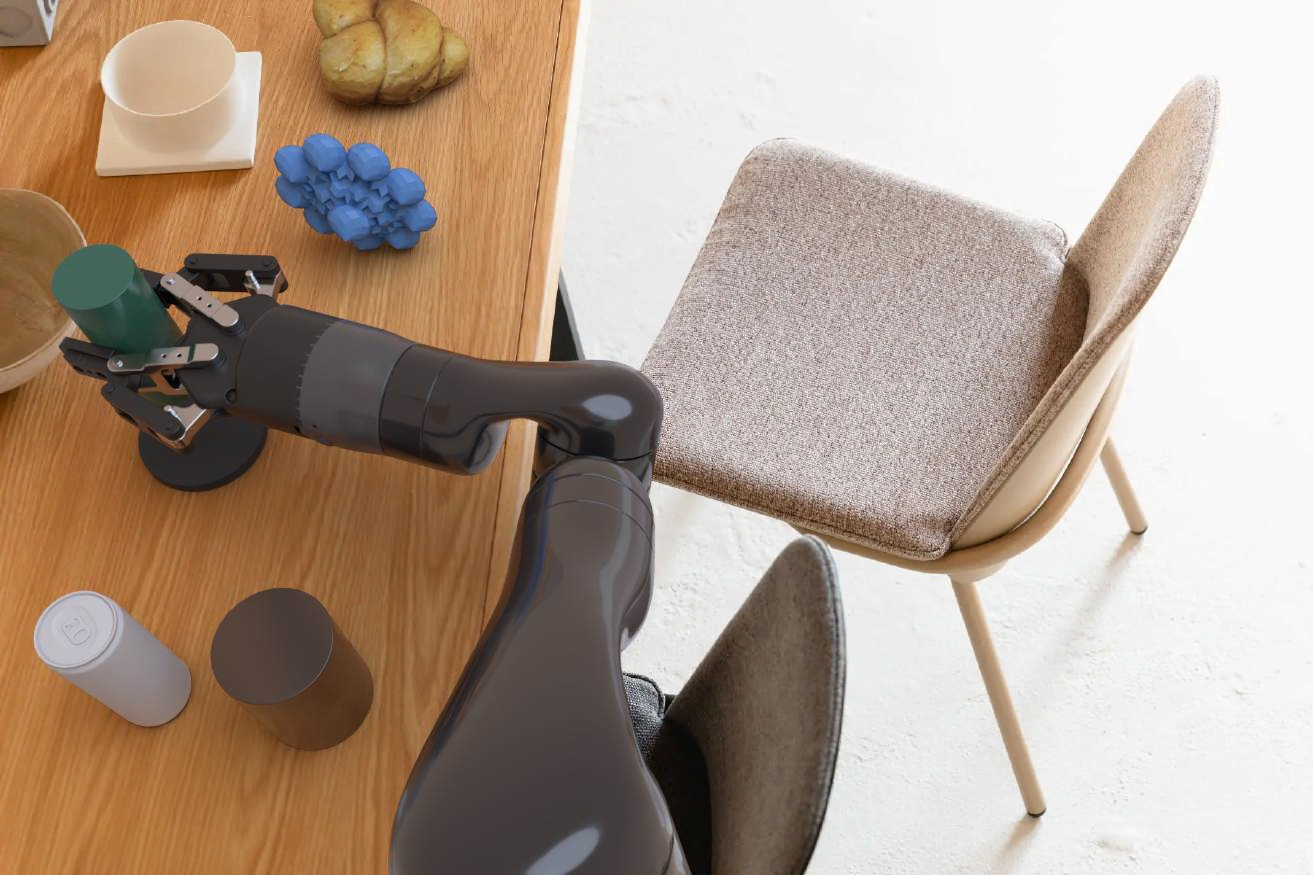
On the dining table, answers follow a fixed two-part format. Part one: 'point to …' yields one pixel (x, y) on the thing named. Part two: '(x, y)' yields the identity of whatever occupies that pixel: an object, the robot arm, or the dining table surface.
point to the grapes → (353, 193)
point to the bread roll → (385, 50)
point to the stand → (292, 668)
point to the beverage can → (112, 658)
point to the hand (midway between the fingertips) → (91, 315)
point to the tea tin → (115, 305)
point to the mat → (205, 454)
